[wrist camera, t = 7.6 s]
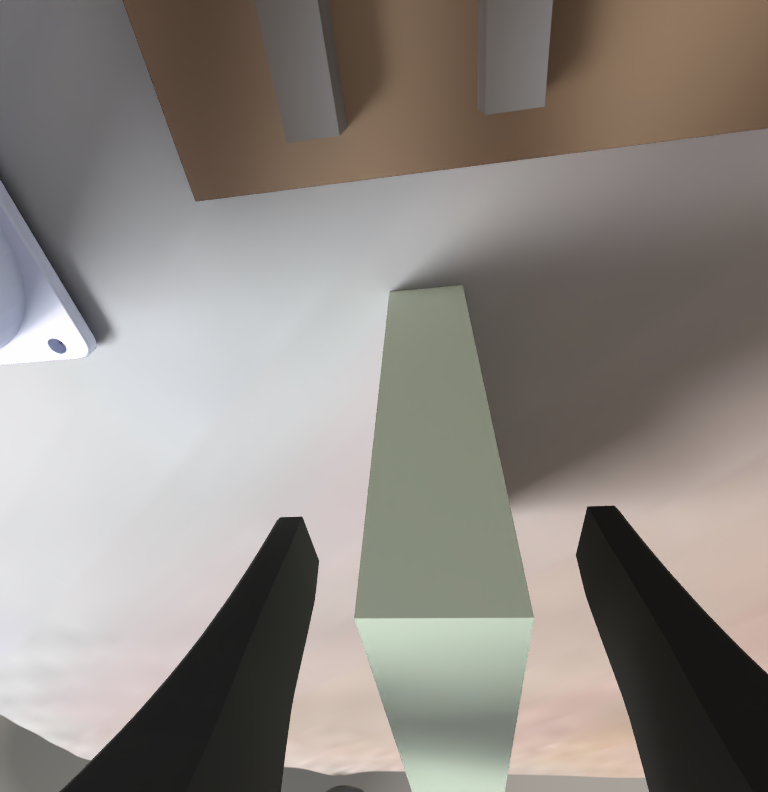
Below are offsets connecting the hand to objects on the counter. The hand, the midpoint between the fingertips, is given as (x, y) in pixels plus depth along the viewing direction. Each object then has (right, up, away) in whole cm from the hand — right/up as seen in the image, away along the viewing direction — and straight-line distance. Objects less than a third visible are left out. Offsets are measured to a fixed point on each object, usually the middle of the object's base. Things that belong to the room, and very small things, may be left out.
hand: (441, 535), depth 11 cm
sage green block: (0, +3, +4) cm, 5 cm away
